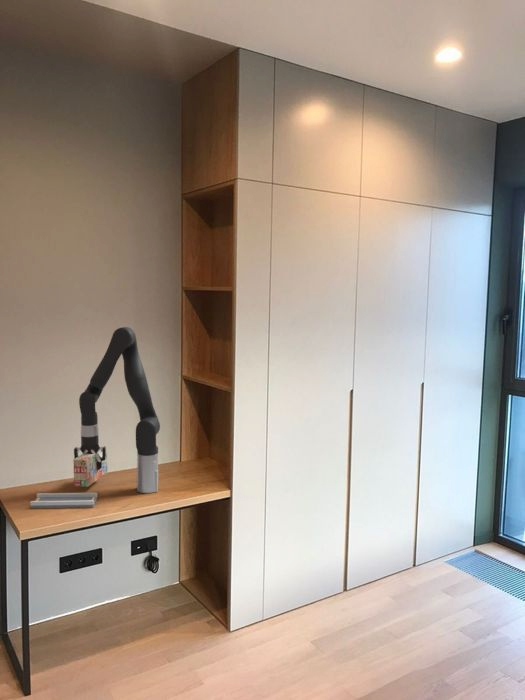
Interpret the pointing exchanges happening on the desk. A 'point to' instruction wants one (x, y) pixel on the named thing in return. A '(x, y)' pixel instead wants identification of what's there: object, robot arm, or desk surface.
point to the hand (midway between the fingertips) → (90, 469)
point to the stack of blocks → (88, 469)
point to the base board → (64, 500)
